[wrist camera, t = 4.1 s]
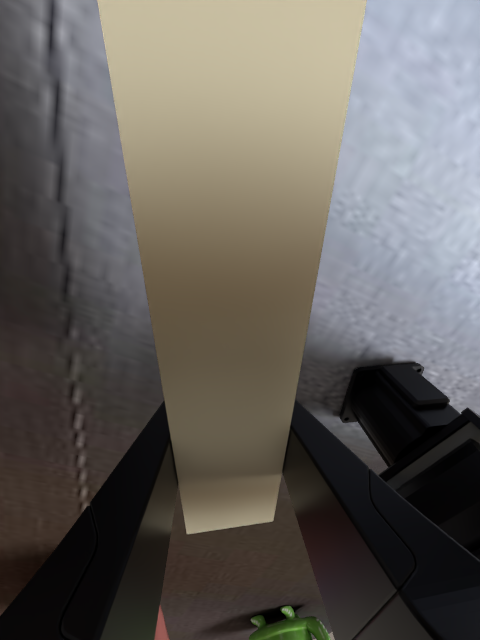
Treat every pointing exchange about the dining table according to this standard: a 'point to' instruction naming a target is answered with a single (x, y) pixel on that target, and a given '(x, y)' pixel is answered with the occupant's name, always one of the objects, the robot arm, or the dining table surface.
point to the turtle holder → (289, 628)
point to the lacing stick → (230, 218)
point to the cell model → (161, 627)
